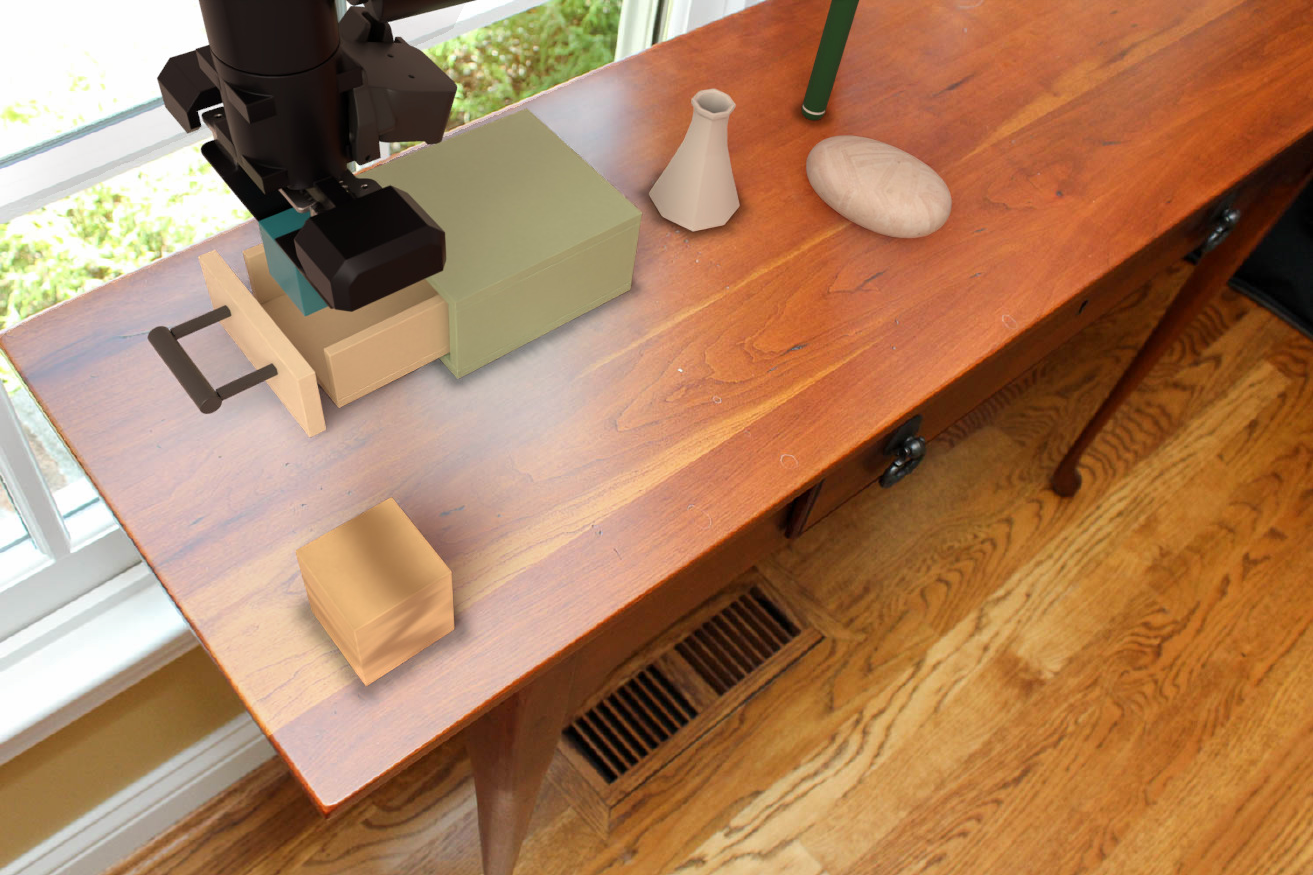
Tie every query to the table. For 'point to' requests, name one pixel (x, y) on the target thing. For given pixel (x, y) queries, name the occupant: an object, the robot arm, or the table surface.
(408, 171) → the cabinet
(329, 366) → the drawer
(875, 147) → the decorative stone
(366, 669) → the riser
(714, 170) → the flask
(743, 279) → the table surface
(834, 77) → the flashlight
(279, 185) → the robot arm
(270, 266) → the block
